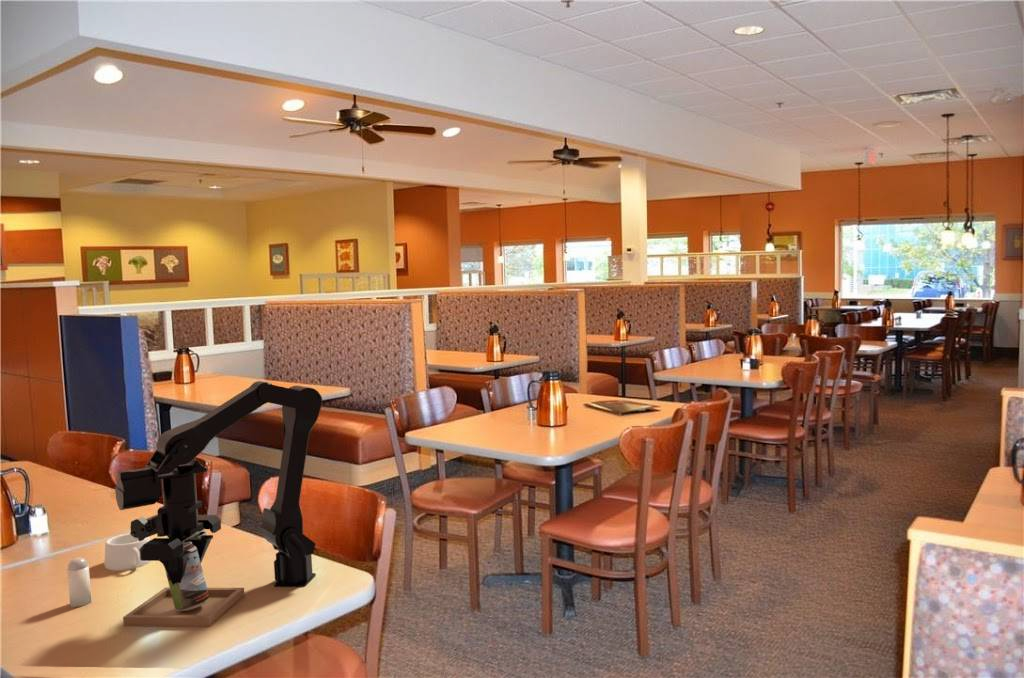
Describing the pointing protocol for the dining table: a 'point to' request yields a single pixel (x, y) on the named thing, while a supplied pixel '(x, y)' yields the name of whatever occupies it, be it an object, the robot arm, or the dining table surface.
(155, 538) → the robot arm
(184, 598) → the beverage can
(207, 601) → the tray
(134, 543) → the mug
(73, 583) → the salt shaker
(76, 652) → the dining table surface
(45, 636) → the dining table surface
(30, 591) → the dining table surface
